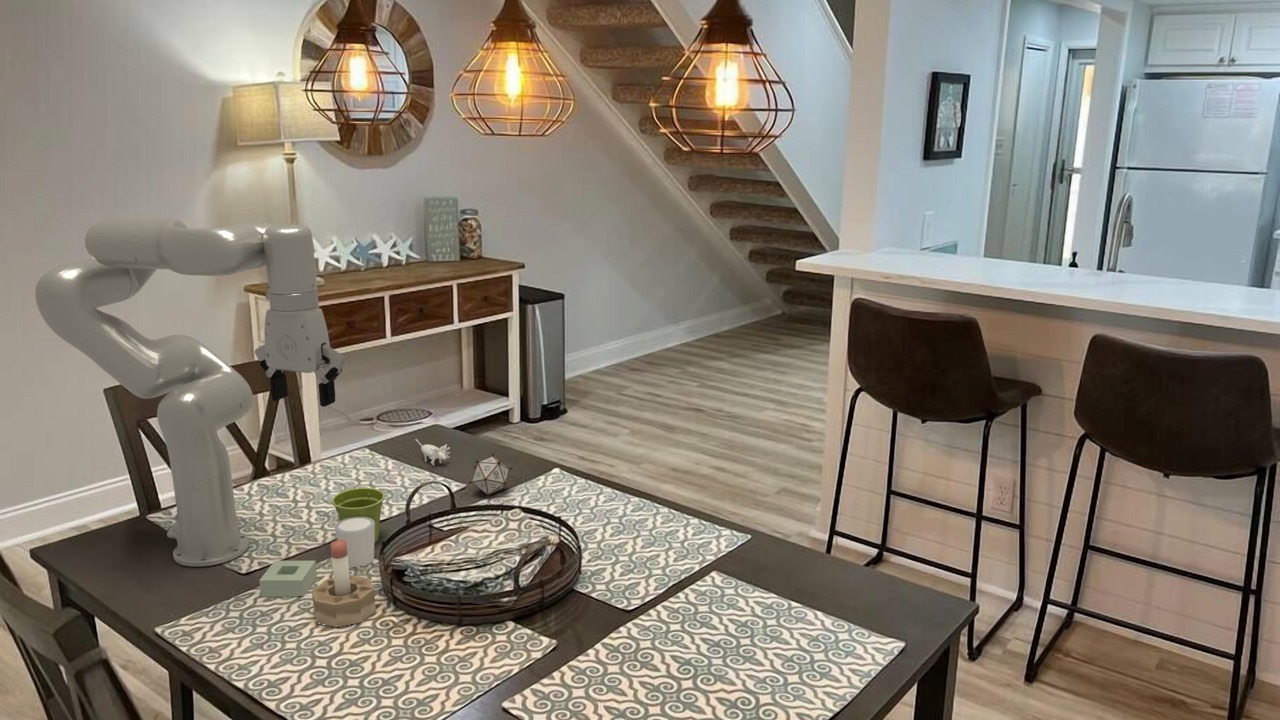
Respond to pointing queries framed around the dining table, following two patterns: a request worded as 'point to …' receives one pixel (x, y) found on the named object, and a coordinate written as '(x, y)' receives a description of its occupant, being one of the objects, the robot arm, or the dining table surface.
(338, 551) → the red-capped white cylinder
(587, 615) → the dining table surface
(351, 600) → the bead
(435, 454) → the white triceratops figurine
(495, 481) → the game die
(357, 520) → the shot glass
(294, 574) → the green square-hole block
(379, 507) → the plant pot
